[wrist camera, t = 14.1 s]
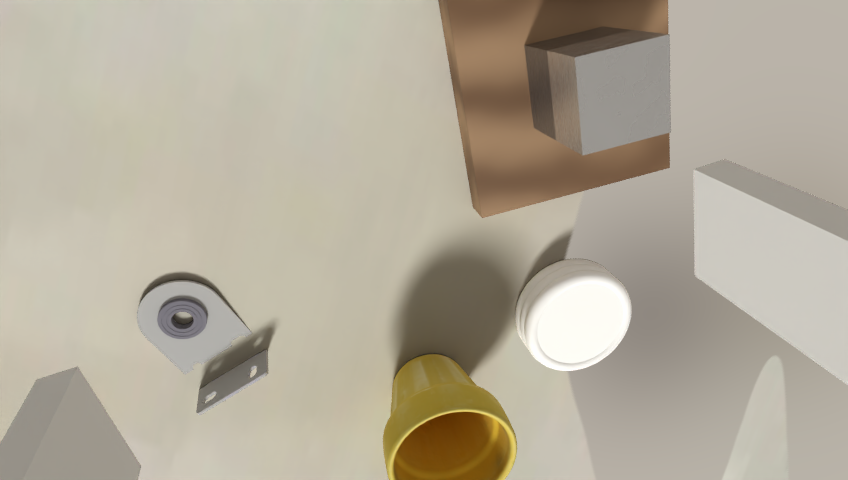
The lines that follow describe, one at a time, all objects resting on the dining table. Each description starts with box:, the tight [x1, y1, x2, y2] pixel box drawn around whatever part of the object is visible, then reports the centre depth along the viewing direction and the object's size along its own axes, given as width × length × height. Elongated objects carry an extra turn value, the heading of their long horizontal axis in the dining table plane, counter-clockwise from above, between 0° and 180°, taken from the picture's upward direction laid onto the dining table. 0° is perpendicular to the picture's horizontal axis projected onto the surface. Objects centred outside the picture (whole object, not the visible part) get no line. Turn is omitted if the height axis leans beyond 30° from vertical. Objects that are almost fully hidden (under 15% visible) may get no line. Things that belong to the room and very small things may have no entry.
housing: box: [524, 26, 671, 155], centre depth 39 cm, size 6×6×8 cm
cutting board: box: [438, 0, 670, 218], centre depth 44 cm, size 18×16×2 cm
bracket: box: [137, 280, 268, 415], centre depth 46 cm, size 7×10×4 cm, turn 29°
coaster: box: [515, 259, 632, 371], centre depth 52 cm, size 10×10×4 cm
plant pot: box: [383, 354, 517, 480], centre depth 49 cm, size 10×10×10 cm
